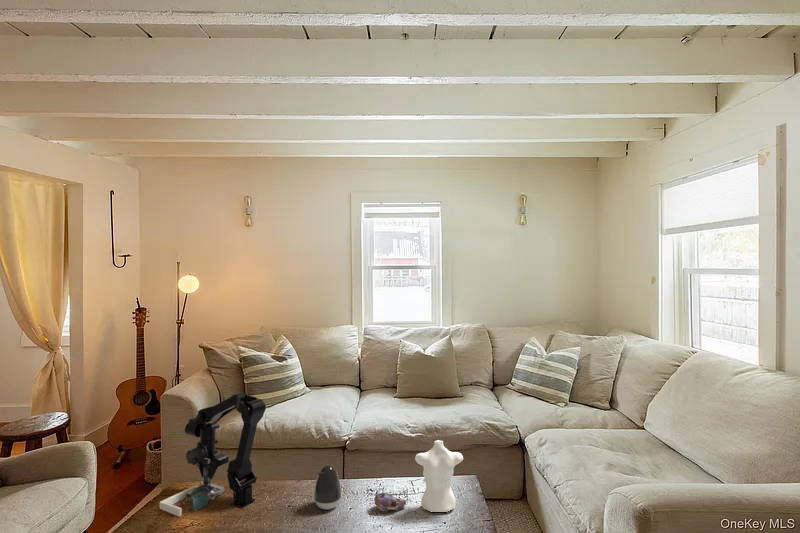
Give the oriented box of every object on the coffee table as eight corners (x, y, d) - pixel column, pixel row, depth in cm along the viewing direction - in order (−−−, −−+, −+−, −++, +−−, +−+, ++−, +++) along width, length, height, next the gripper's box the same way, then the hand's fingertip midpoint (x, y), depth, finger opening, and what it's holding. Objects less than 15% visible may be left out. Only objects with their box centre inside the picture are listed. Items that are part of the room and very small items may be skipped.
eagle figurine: (197, 508, 160) (216, 493, 168) (187, 491, 160) (206, 476, 169) (186, 515, 163) (205, 499, 171) (176, 498, 164) (196, 483, 172)
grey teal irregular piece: (226, 494, 172) (227, 469, 172) (195, 510, 160) (196, 483, 160) (204, 487, 178) (205, 462, 178) (173, 502, 166) (173, 476, 166)
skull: (405, 503, 166) (405, 487, 167) (407, 514, 159) (407, 497, 159) (373, 505, 165) (373, 488, 165) (374, 516, 157) (374, 498, 158)
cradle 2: (225, 492, 174) (225, 485, 174) (214, 498, 170) (214, 490, 170) (221, 491, 175) (221, 484, 175) (211, 496, 170) (211, 489, 171)
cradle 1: (218, 490, 175) (219, 483, 175) (208, 496, 171) (208, 488, 171) (215, 489, 176) (215, 482, 176) (205, 494, 172) (205, 487, 172)
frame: (214, 498, 169) (214, 491, 170) (179, 516, 156) (179, 509, 156) (195, 491, 175) (195, 485, 175) (159, 508, 161) (159, 501, 162)
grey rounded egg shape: (307, 509, 162) (308, 467, 162) (324, 497, 171) (325, 457, 171) (329, 516, 157) (330, 473, 157) (346, 503, 166) (346, 462, 167)
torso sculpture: (459, 500, 169) (459, 434, 170) (465, 513, 159) (465, 444, 160) (412, 501, 167) (413, 435, 168) (415, 515, 158) (416, 445, 158)
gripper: (174, 441, 173) (173, 481, 173) (206, 450, 164) (205, 492, 164) (199, 432, 183) (198, 470, 182) (230, 440, 174) (229, 480, 174)
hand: (207, 478), depth 175 cm, fingers open, 4 cm apart
